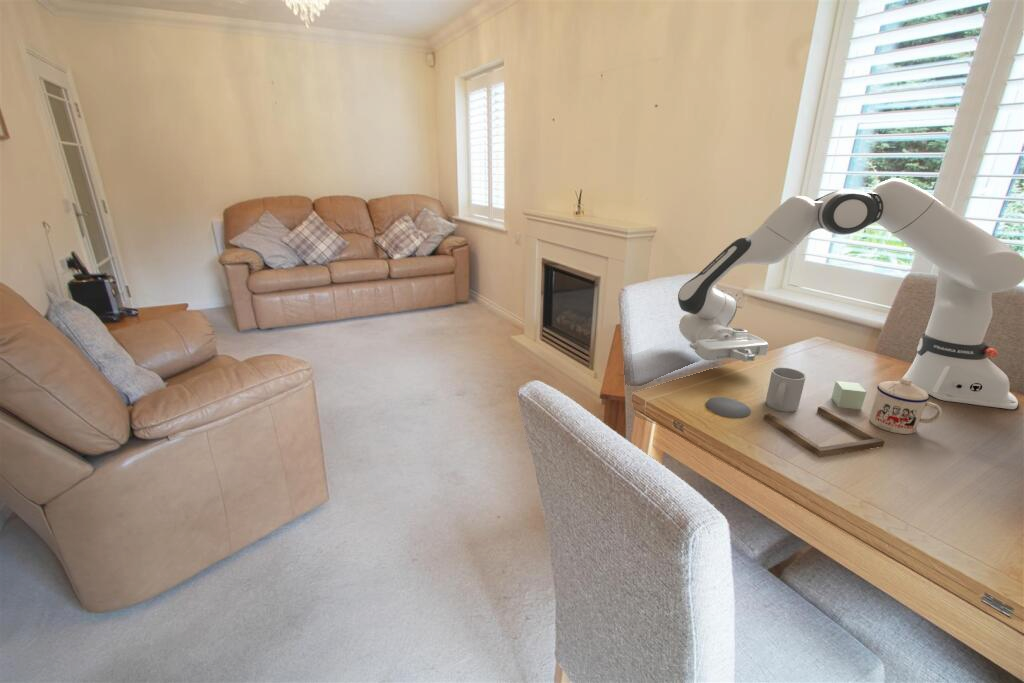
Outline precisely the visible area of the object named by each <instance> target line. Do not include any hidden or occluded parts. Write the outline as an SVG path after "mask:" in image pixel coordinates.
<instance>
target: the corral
mask: <svg viewBox="0 0 1024 683" xmlns="http://www.w3.org/2000/svg"><path fill="white" fill-rule="evenodd" d="M816 413H818V414H820V415H821V416H823V417H824V418H826V419H828V420H830V421H831V422H833V423H835V424H837V425H839V426H840V425H841V426H840V427H842V428H844V429H845V428H846V430H847V429H848V430H847V431H849V432H850V433H852V432H853V433H852V434H854V433H855V435H856V436H858V437H859V436H860V438H861V437H862V438H861V439H862V440H857V441H852V442H845V443H837V444H830V445H825V446H820V445H818V444H817V443H815V442H813V441H812V440H811V439H809V438H807V437H806V436H804V435H803V434H801V433H800V432H798V431H797V430H795V429H794V428H792V427H791V426H789V425H788V424H786V423H784V422H783V421H782V420H780V419H779V418H777V417H776V416H774V415H772V414H771V413H764V416H763V420H764V421H765V422H766V423H768V424H770V425H771V426H773V427H774V428H775V429H777V430H779V431H780V432H781V433H783V434H784V435H786V436H787V437H789V438H790V439H791V440H793V441H794V442H796V443H797V444H798V445H800V446H801V447H803V448H805V449H806V450H807V451H809V452H811V453H812V454H813V455H815V456H816V457H818V458H823V457H828V456H834V455H835V454H836V455H841V454H840V453H842V454H846V453H845V452H848V453H853V451H854V452H860V451H866V450H865V449H867V450H871V449H870V448H873V449H878V448H877V447H879V448H883V447H884V445H885V441H886V440H884V439H882V438H881V437H879V436H877V435H875V434H874V433H871V432H870V431H868V430H866V429H864V428H863V427H861V426H860V425H858V424H855V423H854V422H852V421H850V420H848V419H847V418H844V417H843V416H841V415H839V414H838V413H837V412H836V413H835V412H834V411H832V410H830V409H828V408H827V407H825V406H823V405H819V406H817V410H816ZM863 438H864V439H866V440H864V439H863ZM859 450H860V451H859Z"/></svg>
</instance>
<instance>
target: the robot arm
mask: <svg viewBox="0 0 1024 683" xmlns="http://www.w3.org/2000/svg"><path fill="white" fill-rule="evenodd" d="M874 223H876V224H877V225H880V226H882V227H883V228H884V229H885V230H887V231H888V232H889V233H891V235H892V236H895V237H896V238H897V239H899V240H900V241H901V242H902V243H904V244H905V245H906V246H908V247H909V248H911V249H912V250H913V251H914V252H916V253H917V254H919V255H921V257H924V259H926V260H928V261H930V262H931V263H932V264H933V265H935V266H936V267H938V272H937V277H936V278H937V279H936V287H935V297H934V303H933V308H932V311H931V315H930V318H929V320H928V324H927V326H926V329H925V332H923V333H922V335H921V337H920V339H919V342H918V345H917V349H916V351H917V354H916V355H915V357H914V360H913V362H912V363H911V365H910V367H909V369H908V370H907V371H906V373H905V374H904V376H902V378H907V379H910V380H911V381H912V384H914V385H915V386H917V387H919V388H921V389H923V390H924V391H926V392H927V393H928V395H930V396H931V397H934V398H936V399H938V400H940V401H946V402H953V403H954V402H955V403H961V404H970V405H976V406H983V407H992V408H1001V409H1007V410H1015V409H1017V408H1018V405H1019V401H1018V399H1017V398H1016V396H1015V394H1012V393H1013V392H1010V385H1011V384H1010V379H1009V377H1008V375H1006V373H1005V372H1004V371H1002V370H1001V369H1000V367H998V366H997V365H996V364H995V363H993V361H992V360H990V359H989V358H995V357H997V355H999V354H998V353H999V352H998V351H997V350H996V349H995V348H993V347H991V346H990V345H989V344H987V343H985V342H984V338H985V336H986V333H987V331H988V329H989V325H990V322H991V320H992V318H993V314H994V311H993V305H992V300H993V298H992V297H993V294H995V293H1002V292H1006V291H1009V290H1011V289H1014V288H1015V287H1017V286H1019V285H1020V283H1022V282H1023V281H1024V257H1023V256H1022V255H1021V254H1020V253H1018V251H1016V250H1015V249H1013V248H1012V247H1011V246H1009V245H1007V244H1006V243H1004V242H1003V241H1001V240H1000V239H998V238H996V237H995V236H993V235H991V234H990V233H989V232H988V231H985V230H984V229H983V228H981V227H979V226H978V225H976V224H974V223H972V222H970V221H969V220H967V219H965V218H964V217H962V216H961V215H960V214H958V213H956V211H954V210H953V209H951V208H950V207H948V206H947V205H945V204H944V203H943V202H941V201H940V200H939V199H937V198H936V197H935V196H933V195H932V194H930V193H928V192H927V191H926V190H924V189H922V188H921V187H919V186H917V185H915V184H913V183H910V182H909V181H906V180H904V179H902V178H890V179H886V180H884V181H882V182H880V183H878V184H877V185H875V187H874V188H872V190H870V191H861V190H854V189H853V190H852V189H842V190H836V191H833V192H830V193H828V194H825V195H823V196H821V197H818V198H816V199H811V198H809V197H807V196H805V195H804V196H803V195H794V196H791V197H789V198H788V199H786V200H785V201H783V202H782V203H781V204H780V205H778V207H777V208H776V209H775V210H774V211H772V213H771V214H770V215H769V216H768V217H767V218H766V219H765V220H764V222H763V223H762V224H761V225H760V226H759V227H758V228H757V229H756V230H754V231H753V232H752V233H750V234H749V235H747V236H745V237H740V238H738V239H736V240H734V241H733V242H731V244H729V245H728V246H727V247H726V248H725V249H724V250H723V251H722V252H720V253H719V254H718V255H717V256H716V257H715V258H714V259H713V260H712V261H711V262H709V263H708V264H707V265H706V266H705V267H704V268H703V269H702V270H701V271H700V272H699V273H698V274H696V275H695V276H694V277H692V278H691V279H690V280H688V281H686V282H685V283H684V284H683V285H682V286H681V287H680V288H679V291H678V292H677V293H678V294H677V301H678V305H679V307H680V309H681V311H683V312H686V314H684V315H683V316H682V317H681V318H680V320H679V322H680V324H679V323H678V328H679V332H680V333H681V335H682V337H683V338H685V340H687V341H688V342H690V343H689V348H692V350H694V353H695V354H696V355H697V356H699V357H700V358H701V359H703V360H705V361H715V360H716V361H718V360H727V359H734V360H739V361H742V362H744V363H746V362H754V361H755V360H756V357H760V356H767V354H768V350H769V343H768V341H766V340H764V339H763V338H761V337H759V336H757V335H755V334H752V333H748V332H749V331H748V330H746V329H744V328H733V327H728V326H729V325H730V324H731V322H732V321H733V319H735V316H736V313H737V309H738V306H737V300H736V299H735V297H733V296H731V295H730V294H728V293H726V292H724V291H721V290H720V289H718V288H715V287H714V286H716V285H717V284H718V283H719V282H720V281H721V280H722V279H723V278H724V277H725V276H726V275H728V274H729V273H730V272H731V271H732V270H733V269H735V268H737V267H739V266H742V265H748V264H751V265H767V266H768V265H773V264H774V265H775V264H778V263H781V262H783V261H784V260H785V259H787V257H789V256H790V255H791V254H792V253H793V252H794V250H795V249H796V248H797V247H798V246H799V245H800V244H801V242H802V241H803V240H804V239H805V238H806V237H807V236H808V235H809V234H811V233H813V232H814V231H816V230H819V229H822V230H825V231H826V232H829V233H832V234H835V235H836V234H837V235H841V236H842V235H843V236H844V235H851V234H855V233H857V232H859V231H861V230H863V229H864V228H866V227H869V226H870V225H872V224H874Z"/></svg>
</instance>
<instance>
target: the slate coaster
mask: <svg viewBox="0 0 1024 683" xmlns="http://www.w3.org/2000/svg"><path fill="white" fill-rule="evenodd" d="M706 408H707V409H709V411H711V412H712V413H714V414H716V415H719V416H721V417H724V418H730V419H742V418H747V417H749V416H750V414H751V408H750V407H749V406H748V405H746V404H745V403H744V402H741V401H739V400H737V399H734V398H730V397H726V396H725V397H724V396H716V397H715V396H714V397H710V398H708V400H707V401H706Z"/></svg>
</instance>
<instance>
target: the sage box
mask: <svg viewBox="0 0 1024 683" xmlns="http://www.w3.org/2000/svg"><path fill="white" fill-rule="evenodd" d="M866 395H867V391H866V390H865V388H864V387H863V386H862V385H861V384H860V383H859V382H851V381H841V380H839V381H838V380H836V381H835V383H834V386H833V391H832V395H831V397H830V398H831V400H832V399H833V400H832V401H833V403H834V404H835V405H836V407H837V408H844V409H852V410H862V408H863V405H864V402H865V398H866Z"/></svg>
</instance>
